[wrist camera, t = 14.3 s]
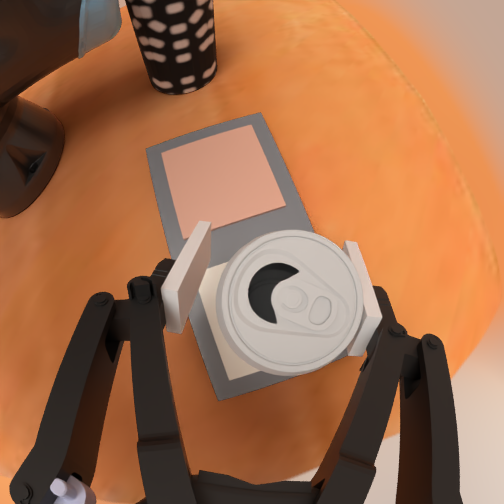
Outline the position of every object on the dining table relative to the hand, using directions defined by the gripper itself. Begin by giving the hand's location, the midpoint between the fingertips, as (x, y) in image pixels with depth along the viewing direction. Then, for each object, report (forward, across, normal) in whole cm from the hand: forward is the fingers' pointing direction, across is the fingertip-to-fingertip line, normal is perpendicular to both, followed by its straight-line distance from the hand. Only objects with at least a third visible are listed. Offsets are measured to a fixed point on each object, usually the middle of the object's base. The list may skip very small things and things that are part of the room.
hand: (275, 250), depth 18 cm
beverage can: (+2, +1, -6) cm, 7 cm away
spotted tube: (+21, -13, +11) cm, 27 cm away
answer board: (+7, -3, -4) cm, 8 cm away
